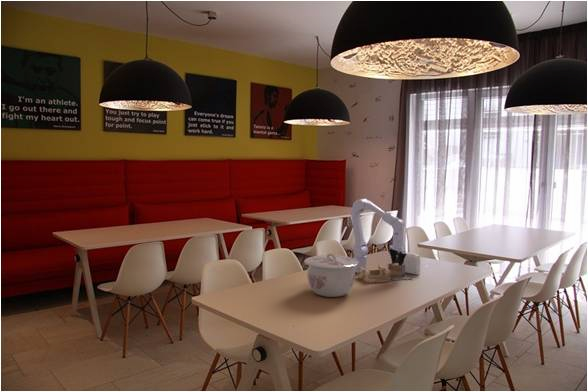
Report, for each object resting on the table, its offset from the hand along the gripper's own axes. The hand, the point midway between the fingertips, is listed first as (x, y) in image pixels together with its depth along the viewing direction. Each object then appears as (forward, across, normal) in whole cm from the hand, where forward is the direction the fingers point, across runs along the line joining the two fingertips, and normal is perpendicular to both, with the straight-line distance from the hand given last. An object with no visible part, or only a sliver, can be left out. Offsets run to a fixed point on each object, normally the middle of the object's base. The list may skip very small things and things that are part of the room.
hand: (397, 263), depth 267 cm
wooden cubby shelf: (+8, -1, +15) cm, 17 cm away
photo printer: (+8, +5, -13) cm, 16 cm away
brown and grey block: (+7, 0, 0) cm, 7 cm away
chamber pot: (+8, -19, +49) cm, 53 cm away
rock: (+8, +21, -17) cm, 28 cm away
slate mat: (+8, 0, 0) cm, 8 cm away
